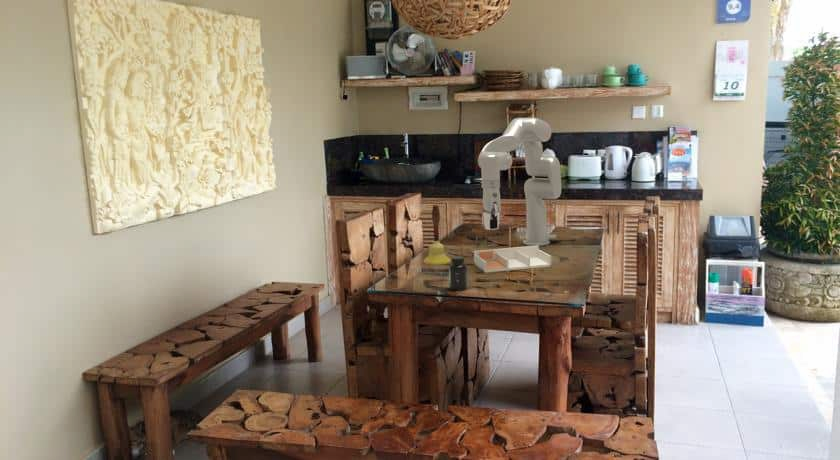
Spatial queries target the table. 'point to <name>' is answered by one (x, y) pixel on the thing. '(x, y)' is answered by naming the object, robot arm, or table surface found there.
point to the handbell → (436, 242)
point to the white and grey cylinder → (488, 220)
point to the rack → (511, 259)
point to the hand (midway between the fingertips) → (491, 226)
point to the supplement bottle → (458, 273)
